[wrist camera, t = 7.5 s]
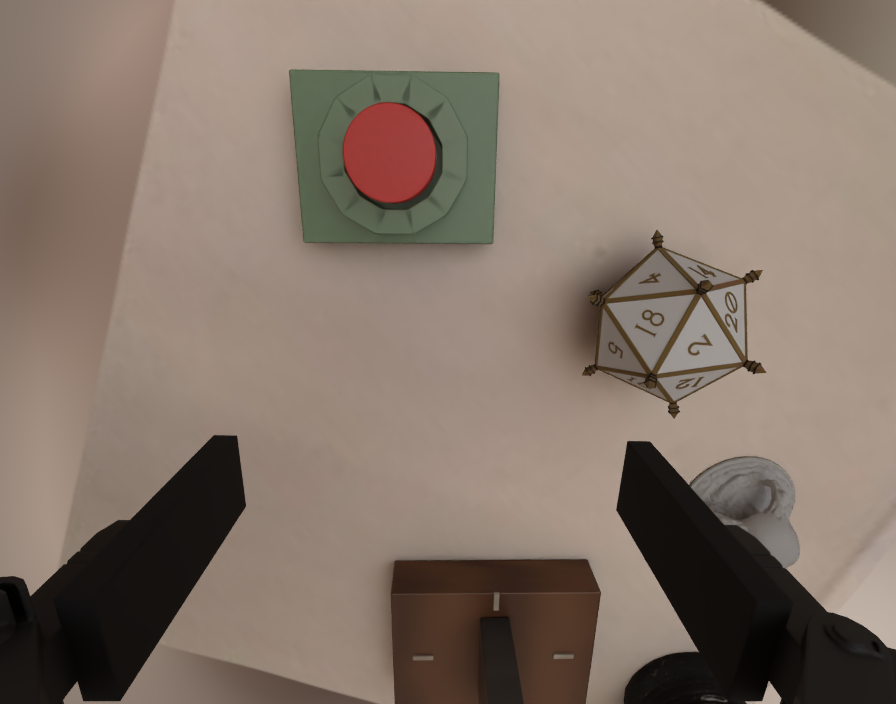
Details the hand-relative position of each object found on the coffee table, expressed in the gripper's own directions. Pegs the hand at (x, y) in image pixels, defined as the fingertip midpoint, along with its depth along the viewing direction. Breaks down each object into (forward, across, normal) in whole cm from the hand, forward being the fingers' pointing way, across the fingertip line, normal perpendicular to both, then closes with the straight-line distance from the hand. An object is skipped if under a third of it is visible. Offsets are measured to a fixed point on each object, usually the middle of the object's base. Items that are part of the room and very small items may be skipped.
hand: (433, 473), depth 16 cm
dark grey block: (+10, +4, -21) cm, 24 cm away
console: (+13, +4, -21) cm, 25 cm away
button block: (+13, -2, +11) cm, 17 cm away
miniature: (+14, +21, -11) cm, 27 cm away
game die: (+14, +12, +3) cm, 18 cm away
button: (+10, -2, +11) cm, 15 cm away
